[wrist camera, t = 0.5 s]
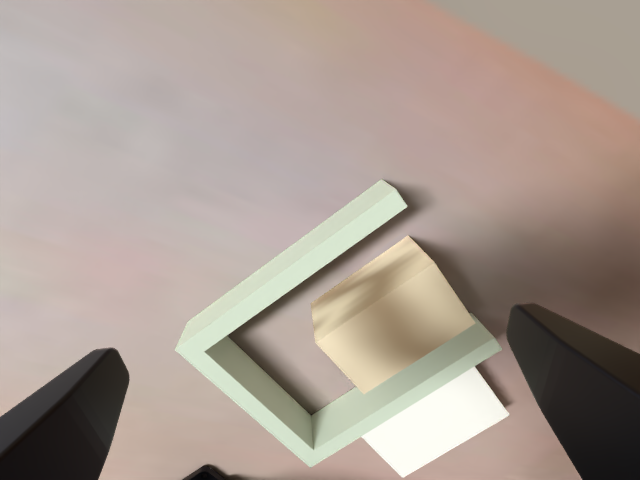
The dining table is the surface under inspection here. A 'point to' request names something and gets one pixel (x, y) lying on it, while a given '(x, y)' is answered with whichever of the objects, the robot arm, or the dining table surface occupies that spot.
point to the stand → (437, 423)
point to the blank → (388, 315)
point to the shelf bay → (353, 407)
